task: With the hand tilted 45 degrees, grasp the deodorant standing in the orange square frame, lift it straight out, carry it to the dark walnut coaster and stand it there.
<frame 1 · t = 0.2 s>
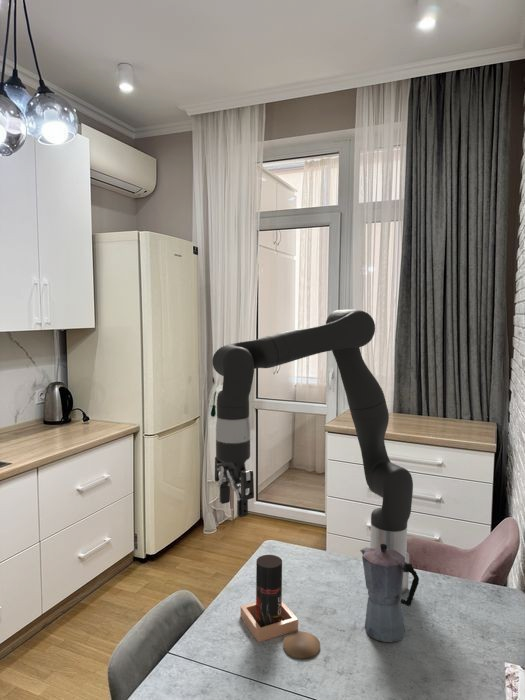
hand: (233, 509, 106), 29 cm above the table, tool pointing down, fingers open, 8 cm apart
coaster: (301, 646, 104), on the table
orange square frame: (268, 623, 112), on the table
deodorant: (268, 623, 112), resting in orange square frame
moka pot: (386, 632, 109), on the table
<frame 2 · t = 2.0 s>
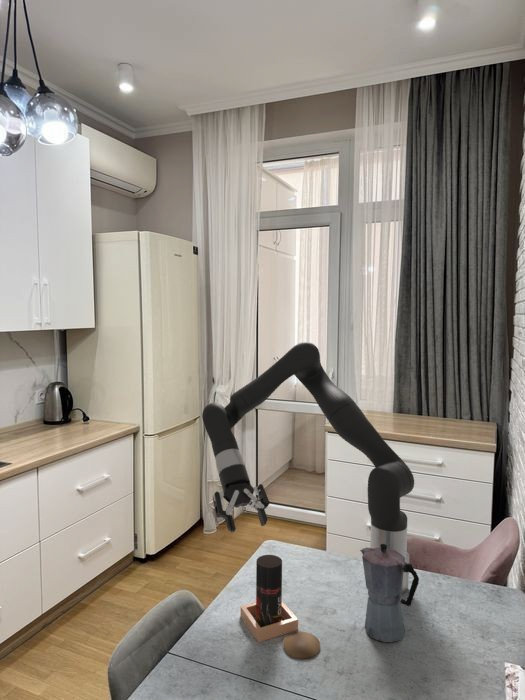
hand: (248, 528, 121), 18 cm above the table, tool tilted 45°, fingers open, 8 cm apart
nothing on the table moved.
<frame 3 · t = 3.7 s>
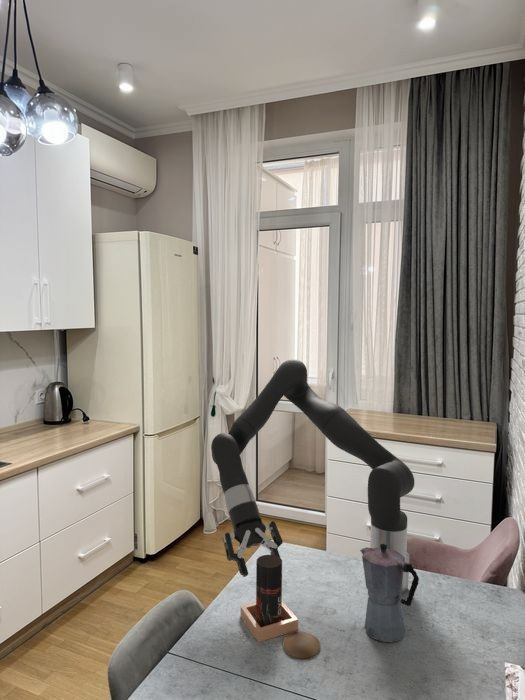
hand: (262, 570, 115), 10 cm above the table, tool tilted 45°, fingers open, 8 cm apart
nothing on the table moved.
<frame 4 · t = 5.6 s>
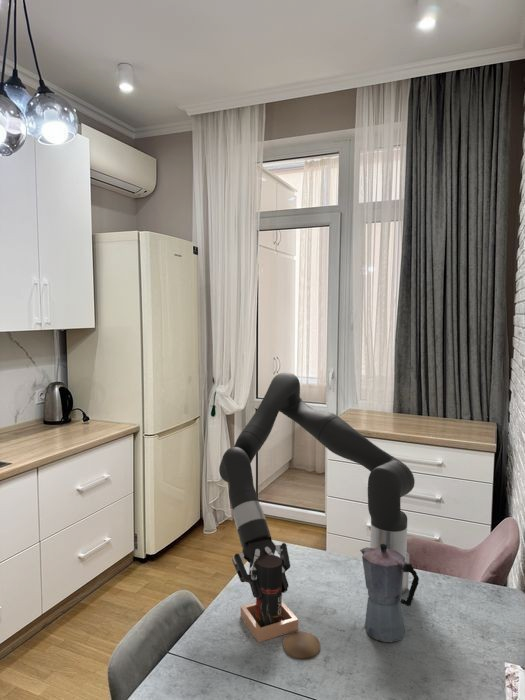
hand: (272, 594, 110), 8 cm above the table, tool tilted 45°, fingers closed on deodorant, 6 cm apart
deodorant: (268, 623, 112), resting in orange square frame, touching gripper
everything else where it was.
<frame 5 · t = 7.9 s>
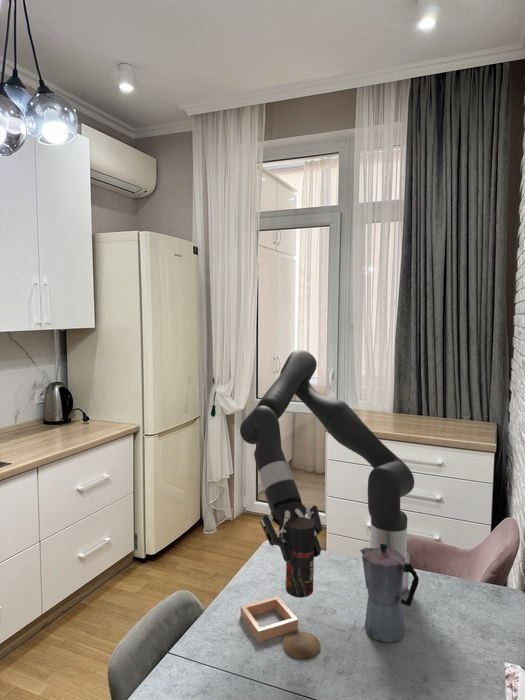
hand: (304, 558, 102), 20 cm above the table, tool tilted 45°, fingers closed on deodorant, 6 cm apart
deodorant: (299, 590, 104), point 12 cm above the table, touching gripper
everything else where it was.
when the fingers open (10 cm above the table, at t = 10.5 s): deodorant drops 1 cm, resting on coaster.
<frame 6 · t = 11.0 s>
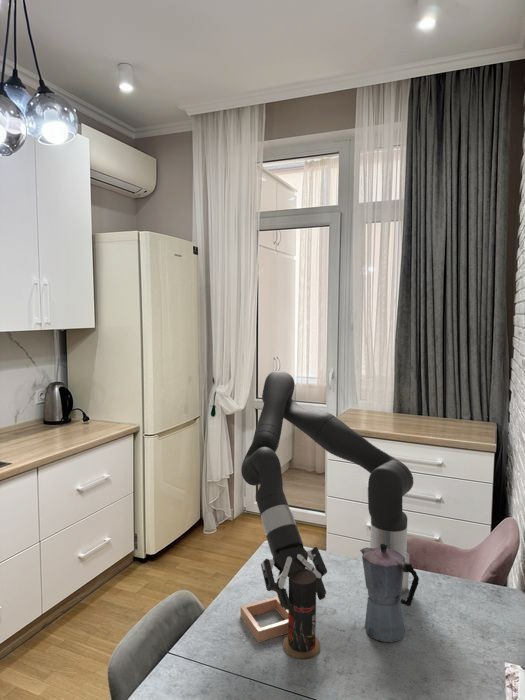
hand: (305, 603, 102), 10 cm above the table, tool tilted 45°, fingers open, 8 cm apart
deodorant: (301, 643, 104), resting on coaster
everything else where it was.
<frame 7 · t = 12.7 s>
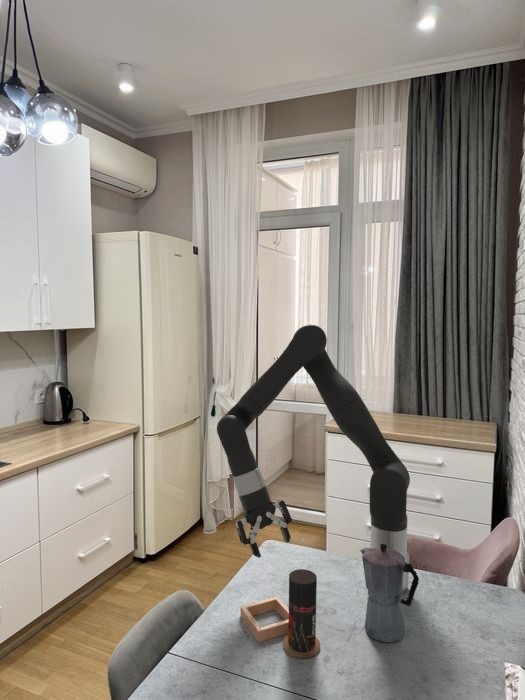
hand: (273, 549, 123), 12 cm above the table, tool tilted 25°, fingers open, 8 cm apart
nothing on the table moved.
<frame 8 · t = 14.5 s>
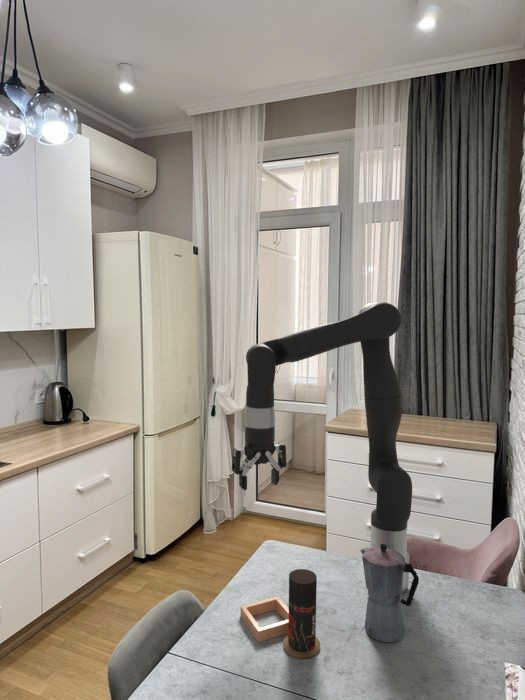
hand: (259, 486, 122), 28 cm above the table, tool pointing down, fingers open, 8 cm apart
nothing on the table moved.
at the end: deodorant 0.2 cm from the coaster (horizontally); deodorant tilted 0°; deodorant resting on coaster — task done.
